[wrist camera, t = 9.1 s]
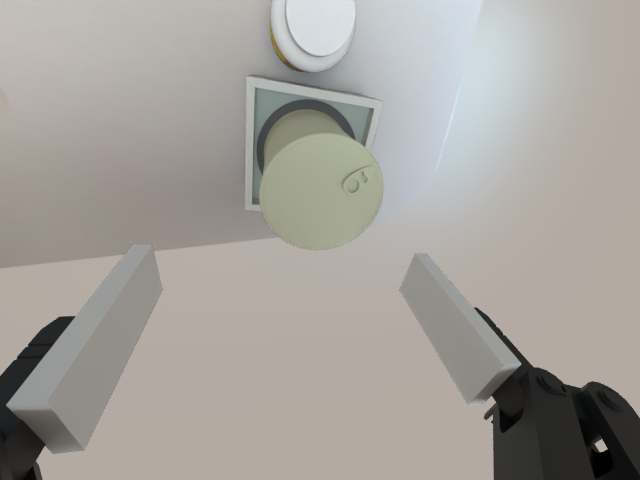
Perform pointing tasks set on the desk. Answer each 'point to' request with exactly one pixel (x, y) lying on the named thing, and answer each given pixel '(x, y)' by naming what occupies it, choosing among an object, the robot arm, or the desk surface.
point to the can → (317, 182)
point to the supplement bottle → (312, 32)
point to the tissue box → (284, 97)
